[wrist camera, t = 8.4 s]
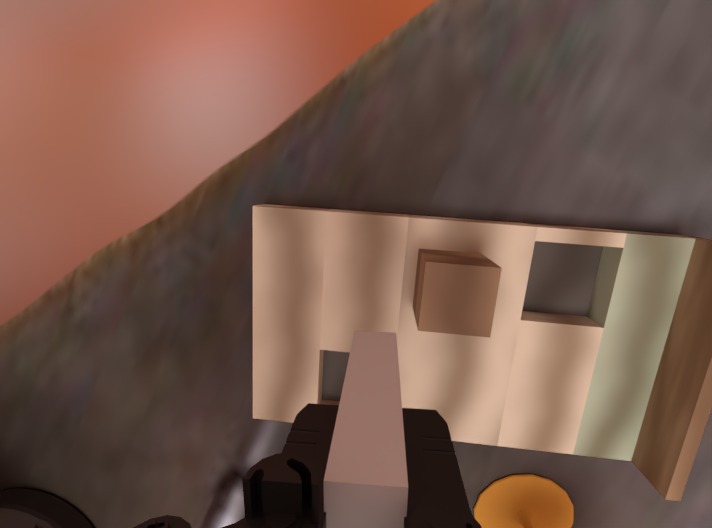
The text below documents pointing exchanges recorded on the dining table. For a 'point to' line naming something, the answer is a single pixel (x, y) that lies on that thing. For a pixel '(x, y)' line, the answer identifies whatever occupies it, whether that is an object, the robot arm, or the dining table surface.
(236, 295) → the dining table surface
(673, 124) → the dining table surface
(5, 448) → the dining table surface
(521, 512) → the cup
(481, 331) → the walnut block
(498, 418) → the trap board
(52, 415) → the dining table surface
